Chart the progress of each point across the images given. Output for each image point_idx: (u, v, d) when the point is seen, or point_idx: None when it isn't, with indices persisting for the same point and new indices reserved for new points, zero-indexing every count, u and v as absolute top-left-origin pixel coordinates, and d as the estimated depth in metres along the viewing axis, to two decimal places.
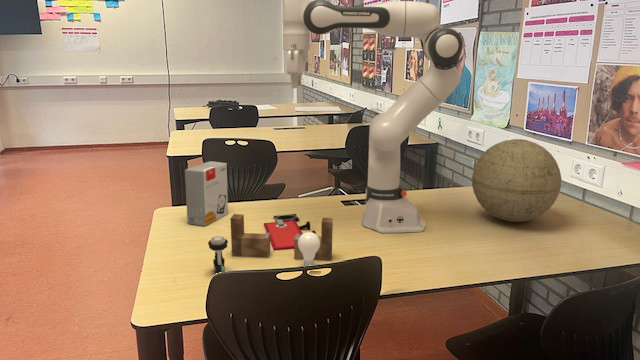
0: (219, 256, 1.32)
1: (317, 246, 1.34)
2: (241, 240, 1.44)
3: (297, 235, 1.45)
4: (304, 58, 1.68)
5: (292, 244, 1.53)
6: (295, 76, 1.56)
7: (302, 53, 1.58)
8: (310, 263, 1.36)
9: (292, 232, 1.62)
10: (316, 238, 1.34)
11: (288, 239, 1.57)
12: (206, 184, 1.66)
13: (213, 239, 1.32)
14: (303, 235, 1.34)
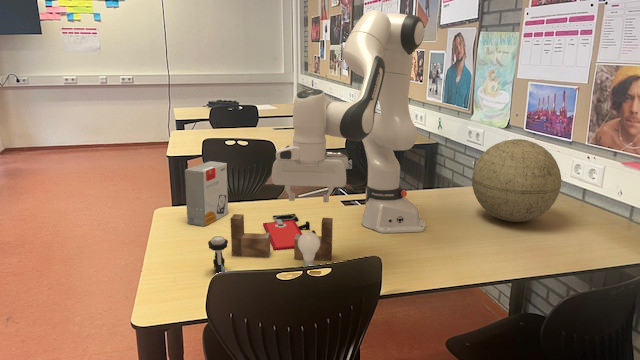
0: (219, 256, 1.32)
1: (317, 246, 1.34)
2: (241, 240, 1.44)
3: (297, 235, 1.45)
4: None
5: (292, 244, 1.53)
6: None
7: None
8: (310, 263, 1.36)
9: (291, 232, 1.62)
10: (316, 238, 1.34)
11: (287, 239, 1.57)
12: (206, 184, 1.66)
13: (213, 239, 1.32)
14: (303, 235, 1.34)
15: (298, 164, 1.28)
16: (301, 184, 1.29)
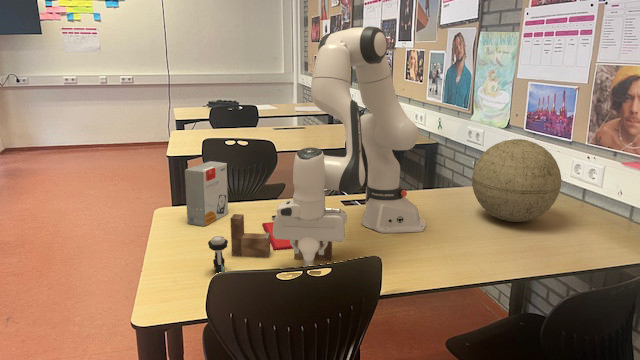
0: (219, 256, 1.32)
1: (317, 246, 1.34)
2: (241, 240, 1.44)
3: None
4: None
5: None
6: None
7: None
8: (310, 263, 1.36)
9: None
10: None
11: None
12: (206, 184, 1.66)
13: (213, 239, 1.32)
14: None
15: (298, 220, 1.32)
16: None
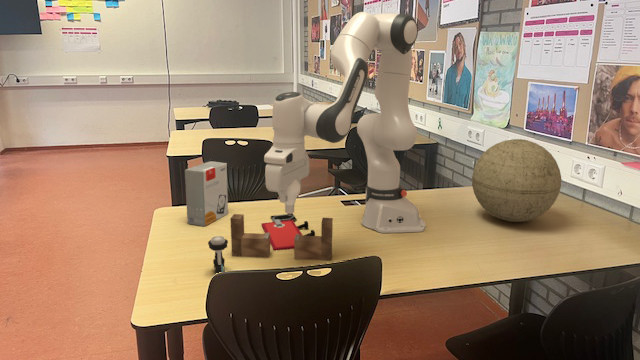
0: (219, 256, 1.32)
1: None
2: (241, 240, 1.44)
3: (297, 235, 1.45)
4: None
5: (292, 244, 1.53)
6: None
7: None
8: None
9: (290, 232, 1.62)
10: None
11: (287, 239, 1.57)
12: (206, 184, 1.66)
13: (213, 239, 1.32)
14: None
15: (290, 165, 1.33)
16: (291, 183, 1.35)
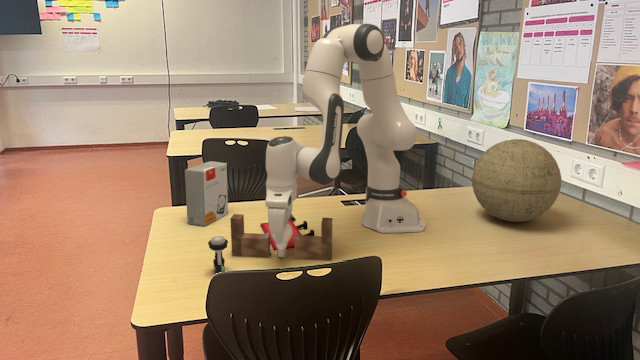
0: (219, 256, 1.32)
1: None
2: (241, 240, 1.44)
3: (297, 235, 1.45)
4: None
5: (291, 244, 1.53)
6: None
7: None
8: None
9: None
10: None
11: None
12: (206, 184, 1.66)
13: (213, 239, 1.32)
14: None
15: None
16: (286, 223, 1.41)
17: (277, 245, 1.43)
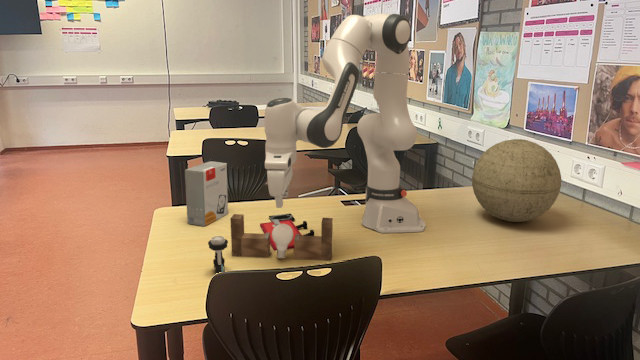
0: (219, 256, 1.32)
1: None
2: (241, 240, 1.44)
3: (297, 235, 1.45)
4: None
5: (291, 244, 1.53)
6: None
7: None
8: None
9: None
10: None
11: None
12: (206, 184, 1.66)
13: (213, 239, 1.32)
14: (285, 228, 1.39)
15: None
16: (286, 187, 1.38)
17: (277, 247, 1.42)
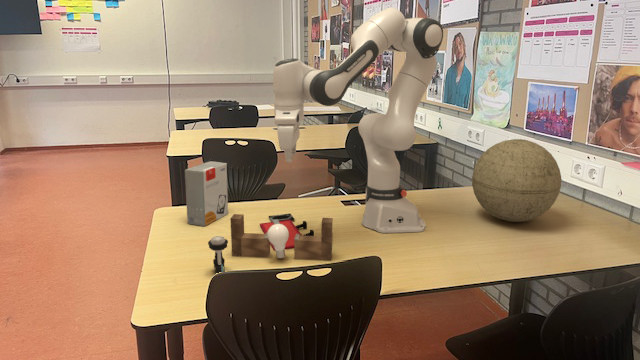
0: (219, 256, 1.32)
1: None
2: (241, 240, 1.44)
3: (297, 235, 1.45)
4: None
5: (291, 244, 1.53)
6: None
7: None
8: None
9: (289, 232, 1.62)
10: None
11: None
12: (206, 184, 1.66)
13: (213, 239, 1.32)
14: (279, 228, 1.39)
15: None
16: (295, 143, 1.47)
17: (275, 248, 1.42)
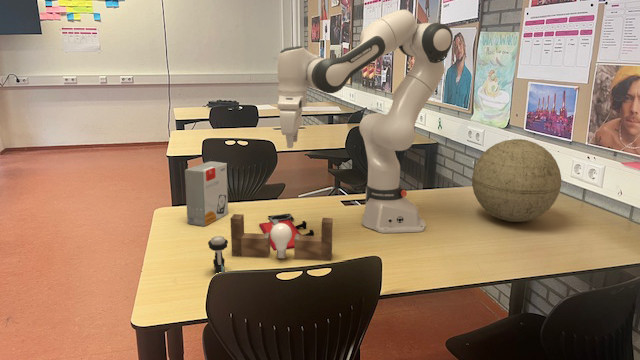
0: (219, 256, 1.32)
1: None
2: (241, 240, 1.44)
3: (297, 235, 1.45)
4: None
5: (291, 244, 1.53)
6: None
7: None
8: None
9: None
10: None
11: None
12: (206, 184, 1.66)
13: (213, 239, 1.32)
14: (283, 227, 1.40)
15: None
16: (297, 129, 1.50)
17: (277, 247, 1.42)
